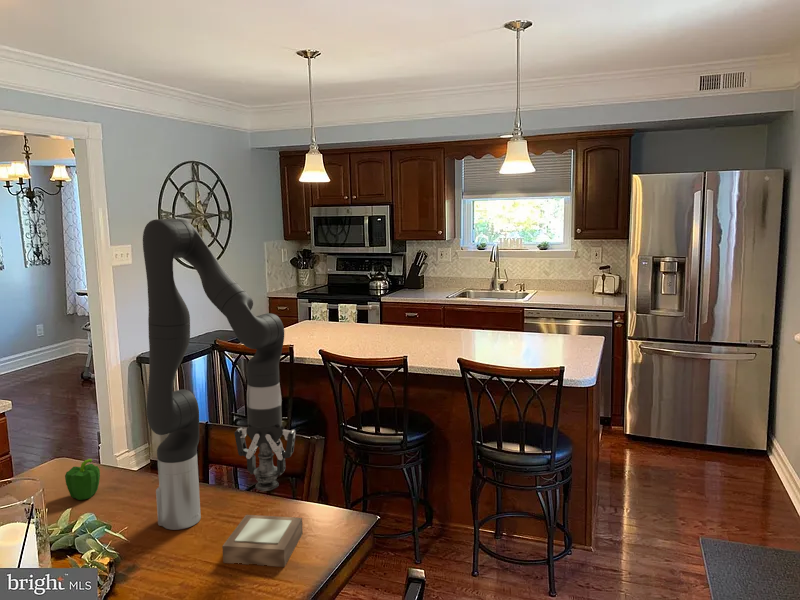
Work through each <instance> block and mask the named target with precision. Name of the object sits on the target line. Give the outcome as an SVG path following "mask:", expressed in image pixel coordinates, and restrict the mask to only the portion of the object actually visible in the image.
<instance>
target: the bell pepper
mask: <svg viewBox="0 0 800 600" xmlns="http://www.w3.org/2000/svg"><path fill="white" fill-rule="evenodd" d="M92 462H93V459H92V458H88V459H86V460H84V461H83V462H81V465H80V466H73V467H72V468H70V469H69V470H68V471H66V472H65V475H64V477H65V478H64V479H65V486H66V488H67V490H68V493H69V495H70V497H71V498H72V499H76V500H79V501H83V500H88V499H91V498H92V497H93V496H94V495H95V494H96V493H97V492H98V490H99V485H100V478H101V470H100V467H99V466H98V465H94V464H93V463H92Z"/></svg>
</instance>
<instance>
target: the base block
mask: <svg viewBox="0 0 800 600" xmlns="http://www.w3.org/2000/svg"><path fill="white" fill-rule="evenodd" d="M238 523H239V524H238V525H237V526H236V528H235V529H234V530H233V531H232V533H231V534H230V535H229V537H228V538H227V539H226V540H225V542H224V543H223V545H222V560H223V561H222V563H223V564H234V563H238V564H237V565H240V564H239V563H242V564H241V565H249V564H257V565H256V566H264V565H267V566H266V567H278V568H279V567H280V568H285V567H286V565H287V563H288V562H289V560H290V558H291V556H292V554H293V552H294V551H295V548H296V547H297V545H298V543H299V541H300V539H301V537H302V535H303V531H304V530H303V517H295V516H293V517H292V516H291V517H290V516H278V515H277V516H274V515H272V516H271V515H255V514H245V515H244V517H243V518H242V520H240V522H238Z"/></svg>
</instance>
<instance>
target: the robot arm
mask: <svg viewBox="0 0 800 600" xmlns="http://www.w3.org/2000/svg"><path fill="white" fill-rule="evenodd" d="M142 250H143V251H142V252H143V258H144V259H143V260H144V267H145V274H146V275H145V276H146V285H147V286H146V287H147V301H148V303H147V305H148V320H147V324H148V325H147V326H148V348H149V358H148V359H149V360H148V361H149V365H148V366H149V369H148V374H149V375H148V386H147V397H146V419H147V423H148V426H149V427H150V429H151V431H152V432H153V433H154V434H156V435H160V436H163V435H164V436H165V435H167V436H166V437H165V439H164V440H162V442H161V443H159V445H158V447H157V449H156V456H157V457H156V458H157V473H158V487H157V488H156V489H155V496H156V511H157V524H158V526H161V527H163V528H165V529H166V530H170V531H172V530H174V531H175V530H184V529H188V528H190V527H192V526H195V525H196V524H198V523H199V522H200V521H201V518H202V517H201V516H202V515H201V500H200V498H201V497H200V483H199V465H198V451H197V450H198V446H199V442H200V409H199V407H200V406H199V403H198V400H197V398H196V397H195V395H194V393H192V391H190V390H188V389H184V388H183V389H177V390H175V391H174V383H175V382H174V381H175V377H176V374H177V372H178V369H179V367H180V365H181V363H182V361H183V359H184V357H185V355H186V352H187V350H188V348H189V345H190V341H191V316H190V311H189V309H188V306H187V305H186V303H185V300H184V298H183V297H182V296H181V294H180V292H179V290H178V288H177V286H176V283H175V279H174V259H183V260H185V261H186V262H187V263H189V264H190V266H192V267H193V268H194V269H195V271H196V272H197V273H198V275H199V278H200V281H201V285H202V288H203V291H204V294H205V295H206V297H207V298H208V299H209V301H210V302H211V303H212V304H213V305H214V306H215V307H216V309H217V310H218V311H219V312H220V313H221V314H223V316H224V317H225V318H226V319H227V321H228V324H229V326H230V327H231V329H232V330H233V332H234V335H235V337H236V338H237V340H238V341H239V342H240V344H242V345H243V346H245V347H247V349H248V348H249V349H251V350H256V351H255V354H254V355H253V356H252V357H251V358H250V359H248V362H247V365H246V375H247V376H246V377H247V378H246V379H247V380H246V381H247V383H246V384H247V390H246V408H247V411H246V413H247V427H246V428H245V427H240V426H239V427H238V428H237V429H236V430H235V431H234V433H233V434H234V439H235V443H236V449H237V453H238V456H240V457H242V456H243V457H245V458H246V468H247V469H246V470H247V471H248V472H249V474H250V475H254V473H253V471H254V470H255V469H256V468H257V467H256V465H257V462H256V455H255V453H256V451H257V448H259V447H260V445H261V444H262V443H266V444H267V445H268V447H271V448H272V453H274V455H276V458H277V459H276V467H277V475H278V476H281V475H282V474H283V473H284V472H285V470H286V458H288V459H289V458H290V457H292V455H293V453H294V451H295V442H296V435H297V431H296V429H293V428H292V429H291V430H289V429H285V428H284V426H283V423H282V422H283V419H282V418H283V417H282V401H283V400H282V398H283V397H282V391H281V385H280V384H281V383H280V361H281V357H282V352H283V347H284V341H285V328H284V324H283V322H282V320H281V318H280V317H279V316H278V315H277V314H275V313H269V312H268V313H264V314H259V315H255V314H254V313H253V311H252V309H253V306H254V300H253V298H252V297H251V296H250V294H249V293H248V292H246V291H245V289H243V288H242V287H241V285H239V283H238V282H237V281H235V279H234V278H233V277H232V276H231V275H230V274H229V273H228V272H227V271H226V269H225V268H224V267H223V266H222V265H221V263H220V262H219V260H218V259H217V257H216V256H215V255H214V253H213V251H212V250H211V249H210V247H209V246H208V244H206V242H205V241H204V239H203V238H202V236H201V234H200V233H199V231H198V230H197V229H196V228H195V227H194V226H193V225H192V224H191V222H189V221H188V220H185V219H183V218H160V219H159V218H158V219H157V218H156V219H152V220H150V221H149V222H147V223H146V225H145V227H144V229H143V233H142ZM246 436H248V437H249V438H250V440H251V443H250V445H249V447H247V442H246ZM282 436H283V437H284V440H285V441H286V447H285V449H284V447H283V442H282V440H281V437H282Z"/></svg>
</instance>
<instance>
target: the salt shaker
mask: <svg viewBox="0 0 800 600" xmlns="http://www.w3.org/2000/svg"><path fill="white" fill-rule="evenodd" d="M258 448H259V453H258V455H257V457H258V458H259V459H258V460H259V465H258V467H256V469H255V470H254V471H253V473H254V474H253V475H254V477H255V479H256V481H257V483H256V484H255V487H254V488H255V489H256V490H258V491H262V492H264V491H268V492H269V491H272V490H275V489H277V488H278V487H279V485H280V484H279V482H278V481H277V478H278V477H279V475H277V465H276V466H275V464H274V455H275V452H273V450H272V448H271V447H268V445H267V444H266V443H262V444H261V445H260V447H258Z"/></svg>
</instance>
